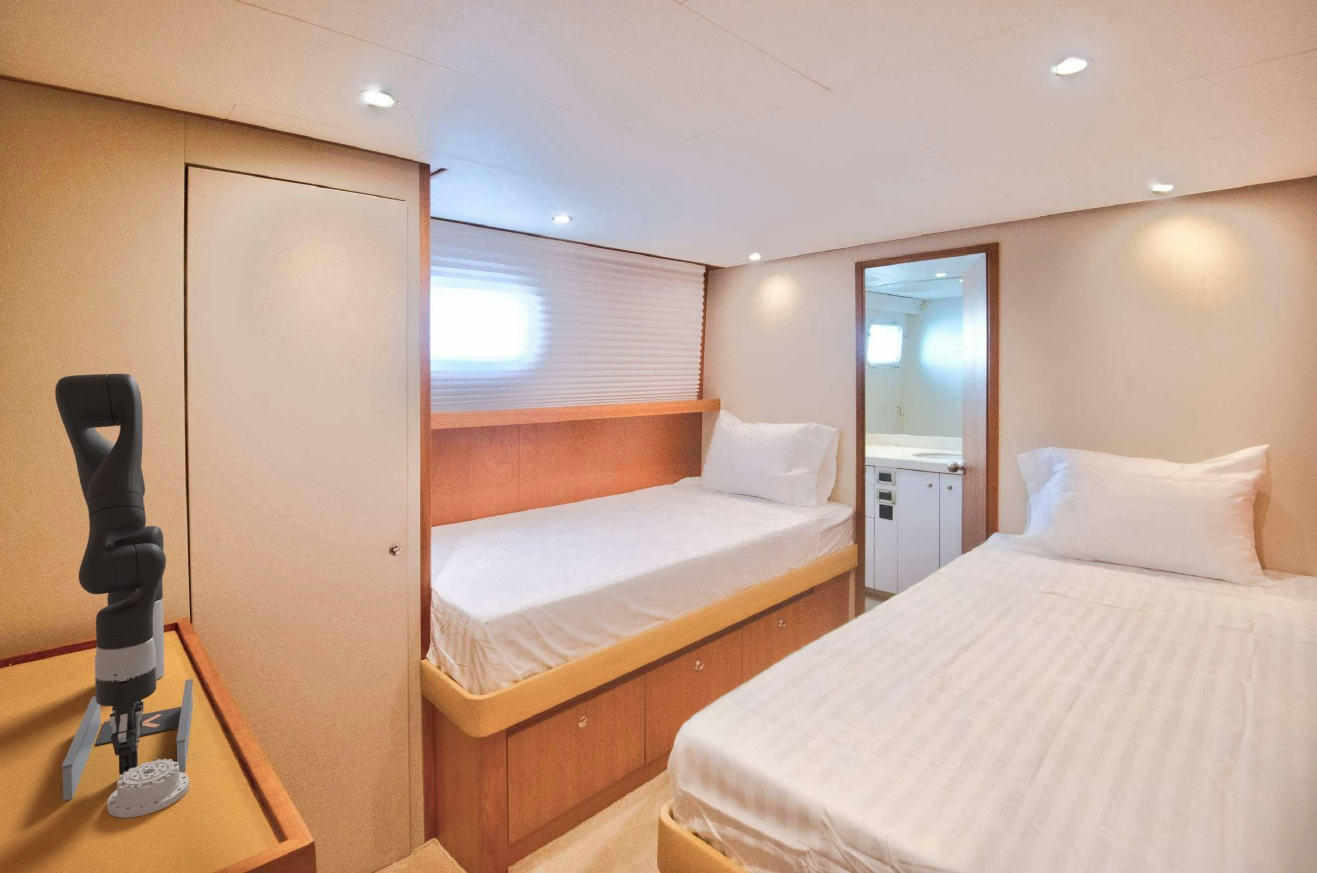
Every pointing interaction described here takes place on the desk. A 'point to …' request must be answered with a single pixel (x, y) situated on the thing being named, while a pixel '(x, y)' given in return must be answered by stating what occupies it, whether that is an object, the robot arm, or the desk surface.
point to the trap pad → (147, 724)
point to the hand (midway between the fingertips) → (128, 770)
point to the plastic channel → (89, 730)
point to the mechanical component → (148, 789)
